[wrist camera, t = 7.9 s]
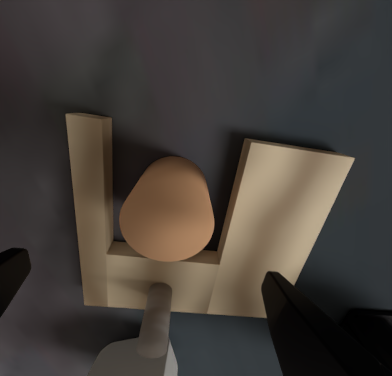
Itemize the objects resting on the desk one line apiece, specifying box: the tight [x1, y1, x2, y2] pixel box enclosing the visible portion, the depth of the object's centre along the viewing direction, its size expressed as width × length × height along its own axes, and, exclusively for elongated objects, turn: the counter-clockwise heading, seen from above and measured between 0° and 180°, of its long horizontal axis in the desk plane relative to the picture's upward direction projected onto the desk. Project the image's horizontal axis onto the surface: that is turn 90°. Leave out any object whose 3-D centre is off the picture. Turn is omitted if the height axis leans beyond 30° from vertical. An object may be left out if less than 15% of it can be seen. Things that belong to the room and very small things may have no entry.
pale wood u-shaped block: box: [66, 113, 355, 358], centre depth 14 cm, size 18×16×6 cm
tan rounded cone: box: [119, 156, 214, 262], centre depth 13 cm, size 5×5×5 cm
